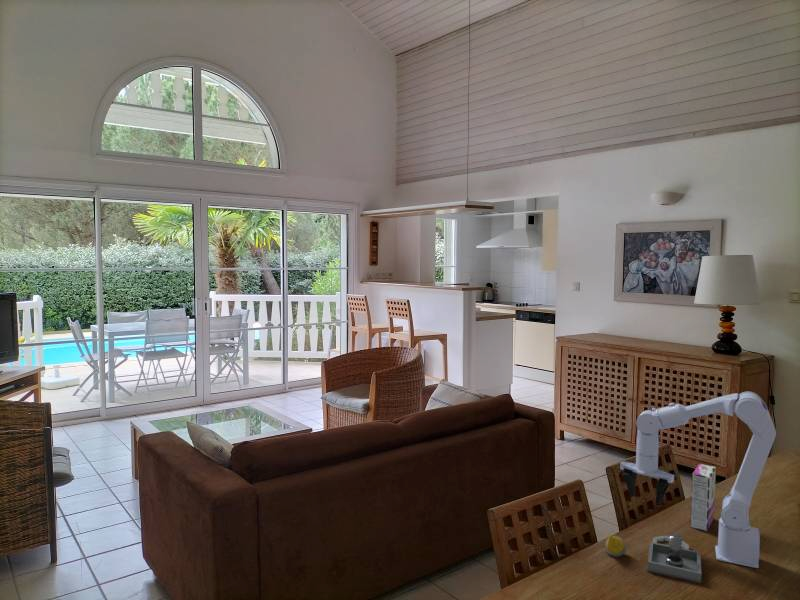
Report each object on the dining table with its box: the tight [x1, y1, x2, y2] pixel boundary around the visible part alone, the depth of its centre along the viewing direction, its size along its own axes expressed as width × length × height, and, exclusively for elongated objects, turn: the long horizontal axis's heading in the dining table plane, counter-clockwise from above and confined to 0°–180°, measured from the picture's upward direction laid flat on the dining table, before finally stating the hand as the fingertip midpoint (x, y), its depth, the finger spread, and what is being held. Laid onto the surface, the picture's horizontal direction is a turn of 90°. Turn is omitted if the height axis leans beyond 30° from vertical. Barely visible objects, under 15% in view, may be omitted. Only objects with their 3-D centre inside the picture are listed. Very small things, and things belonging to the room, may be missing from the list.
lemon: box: [604, 534, 627, 558], centre depth 152 cm, size 5×5×10 cm
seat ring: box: [652, 535, 690, 550], centre depth 157 cm, size 9×9×1 cm
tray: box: [647, 541, 702, 585], centre depth 148 cm, size 12×12×2 cm
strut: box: [666, 533, 683, 568], centre depth 147 cm, size 4×4×7 cm
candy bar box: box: [690, 463, 717, 532], centre depth 172 cm, size 11×5×16 cm, turn 143°
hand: (645, 500), depth 163 cm, fingers open, 7 cm apart
